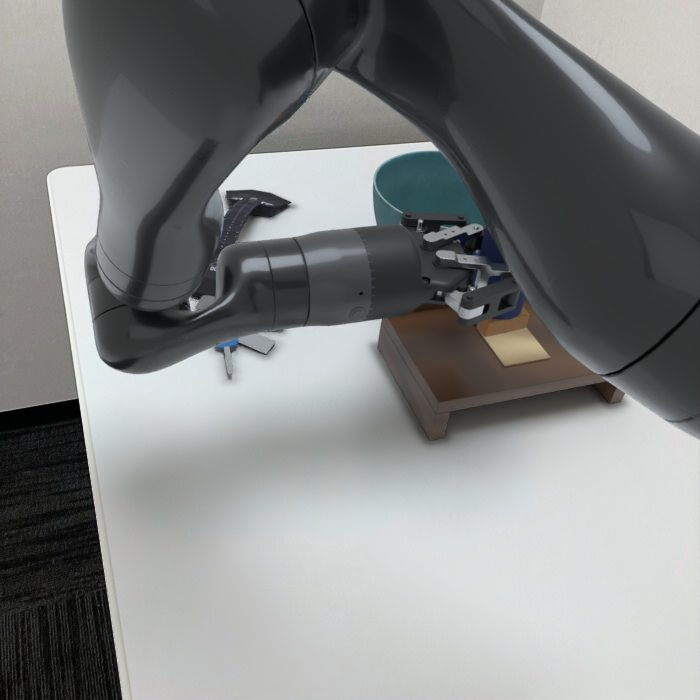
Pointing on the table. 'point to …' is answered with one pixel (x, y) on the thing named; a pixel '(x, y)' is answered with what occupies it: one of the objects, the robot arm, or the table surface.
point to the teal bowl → (420, 189)
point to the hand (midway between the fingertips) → (534, 253)
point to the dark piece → (239, 226)
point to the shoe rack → (475, 364)
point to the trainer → (489, 249)
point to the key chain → (251, 340)
